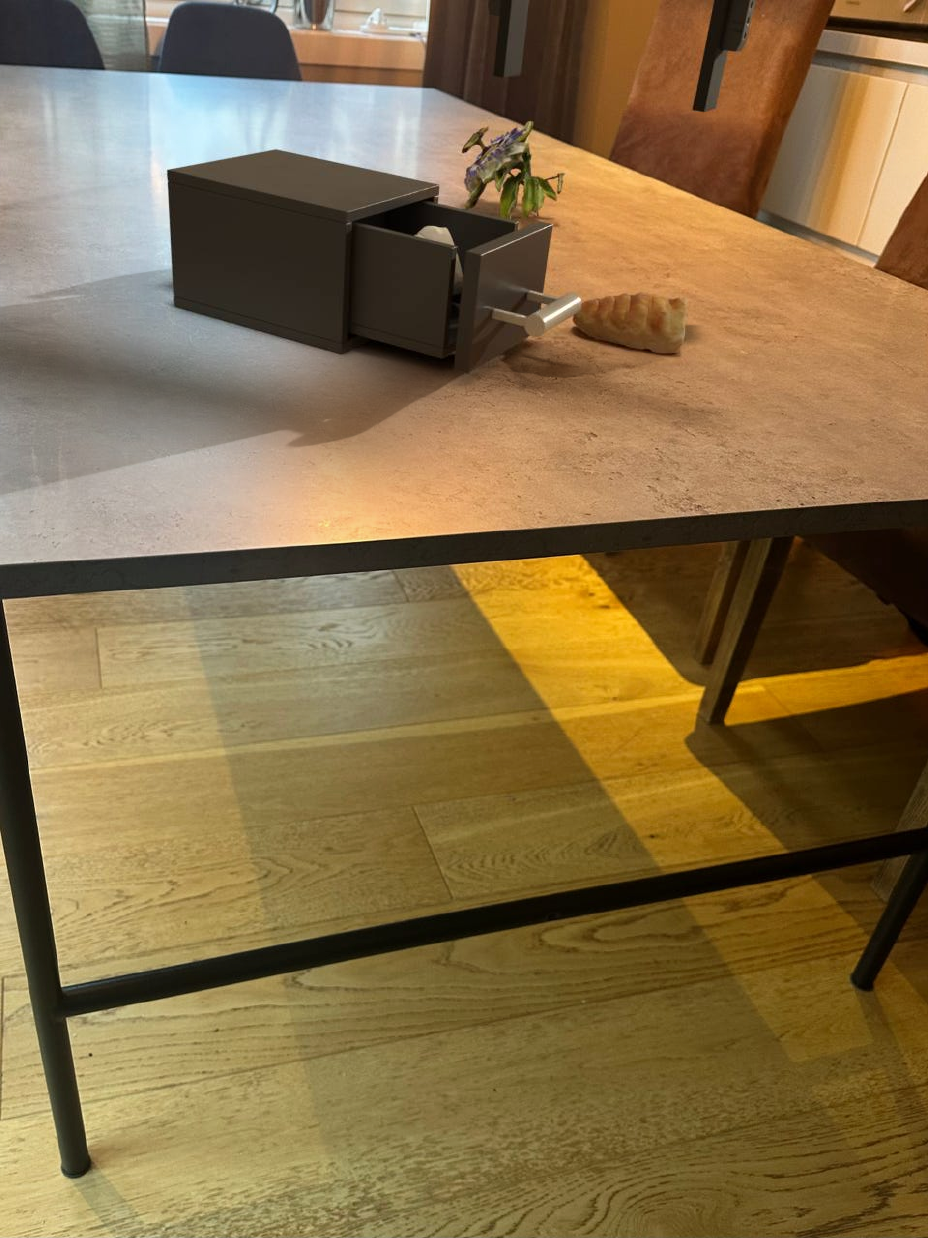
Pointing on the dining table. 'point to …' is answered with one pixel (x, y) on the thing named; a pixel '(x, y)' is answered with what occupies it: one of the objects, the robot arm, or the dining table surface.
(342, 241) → the cabinet
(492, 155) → the passion flower
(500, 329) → the drawer
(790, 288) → the dining table surface
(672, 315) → the pastry
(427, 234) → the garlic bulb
